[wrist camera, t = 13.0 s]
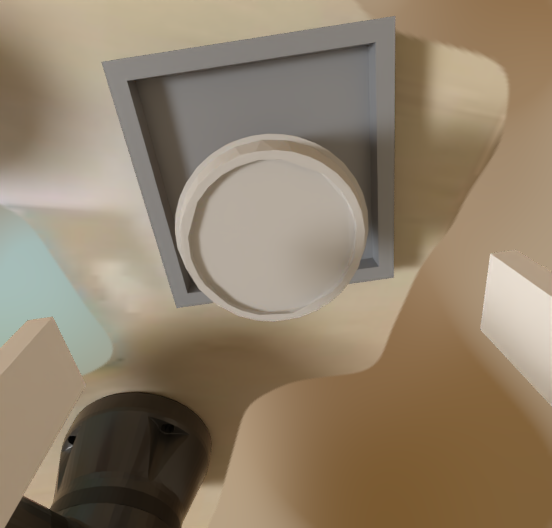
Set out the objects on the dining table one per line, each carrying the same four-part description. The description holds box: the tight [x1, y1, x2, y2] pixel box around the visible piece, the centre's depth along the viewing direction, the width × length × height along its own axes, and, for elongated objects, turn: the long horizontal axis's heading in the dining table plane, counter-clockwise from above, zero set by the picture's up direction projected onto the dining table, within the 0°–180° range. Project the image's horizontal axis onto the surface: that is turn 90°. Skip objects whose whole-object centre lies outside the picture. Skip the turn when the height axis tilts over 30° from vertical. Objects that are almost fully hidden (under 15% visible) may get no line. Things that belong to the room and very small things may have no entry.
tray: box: [102, 16, 395, 308], centre depth 27 cm, size 18×18×2 cm
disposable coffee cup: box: [175, 134, 368, 322], centre depth 22 cm, size 10×10×12 cm
